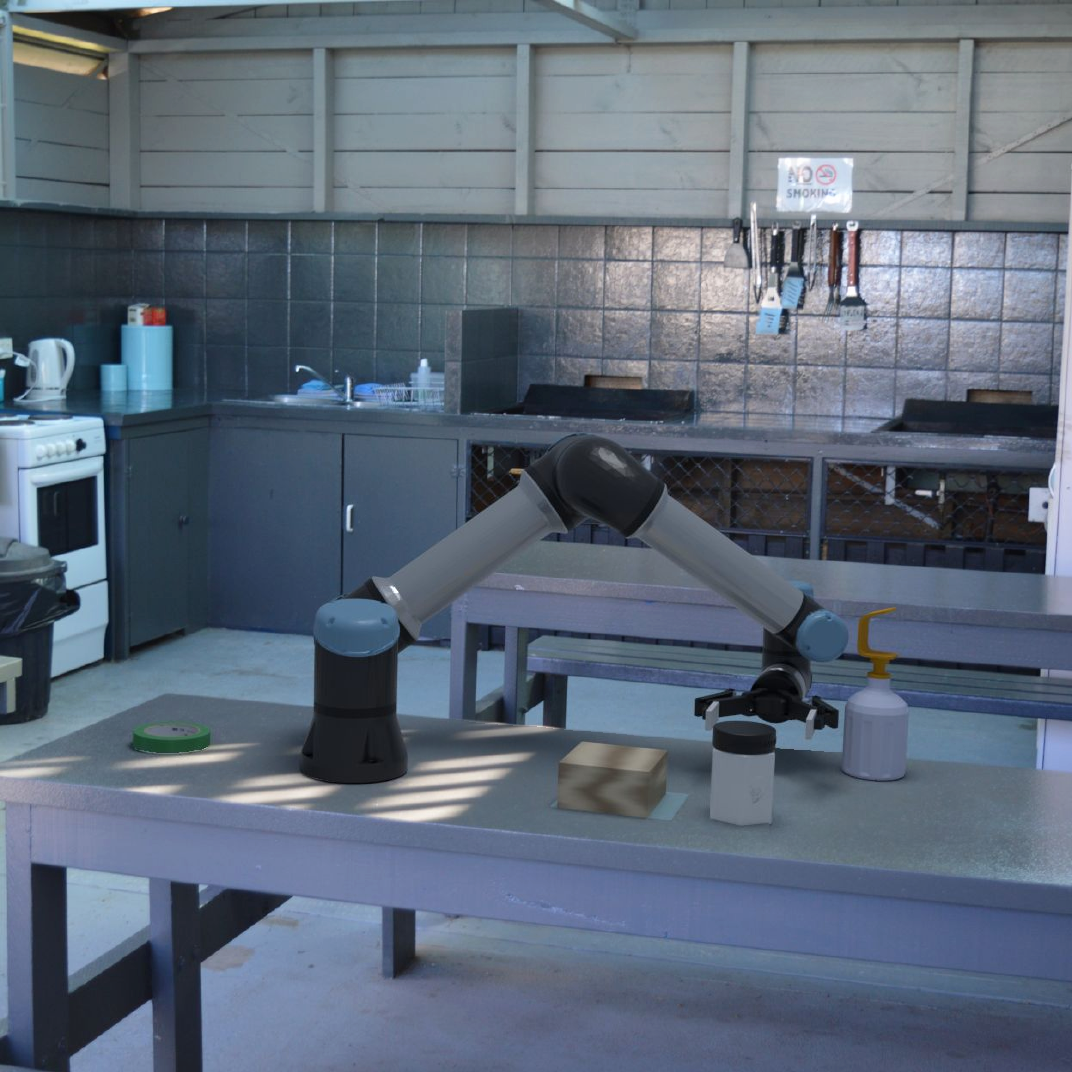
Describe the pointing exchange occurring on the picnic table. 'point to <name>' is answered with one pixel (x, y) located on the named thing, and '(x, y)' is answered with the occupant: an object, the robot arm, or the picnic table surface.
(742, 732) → the jar
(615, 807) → the base block
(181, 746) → the tape roll
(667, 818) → the build board
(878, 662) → the soap bottle
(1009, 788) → the picnic table surface
